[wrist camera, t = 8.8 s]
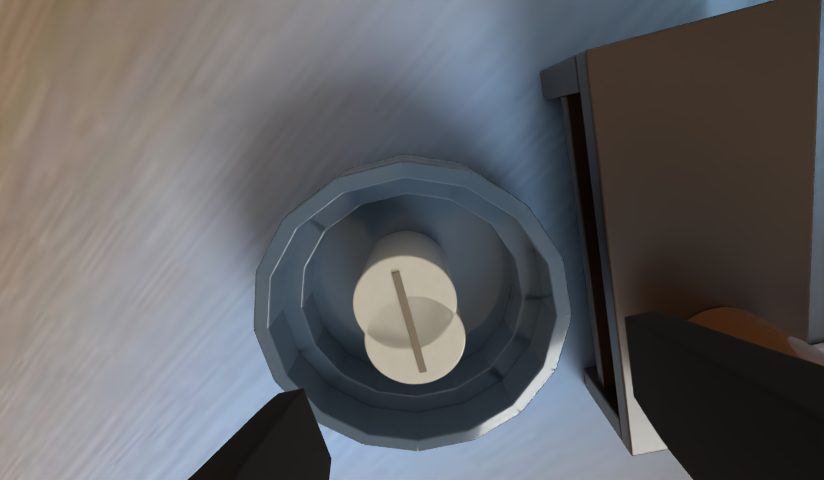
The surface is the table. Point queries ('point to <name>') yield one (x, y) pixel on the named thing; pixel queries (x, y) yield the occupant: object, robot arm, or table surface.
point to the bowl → (475, 289)
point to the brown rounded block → (756, 332)
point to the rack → (692, 180)
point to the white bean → (409, 309)
